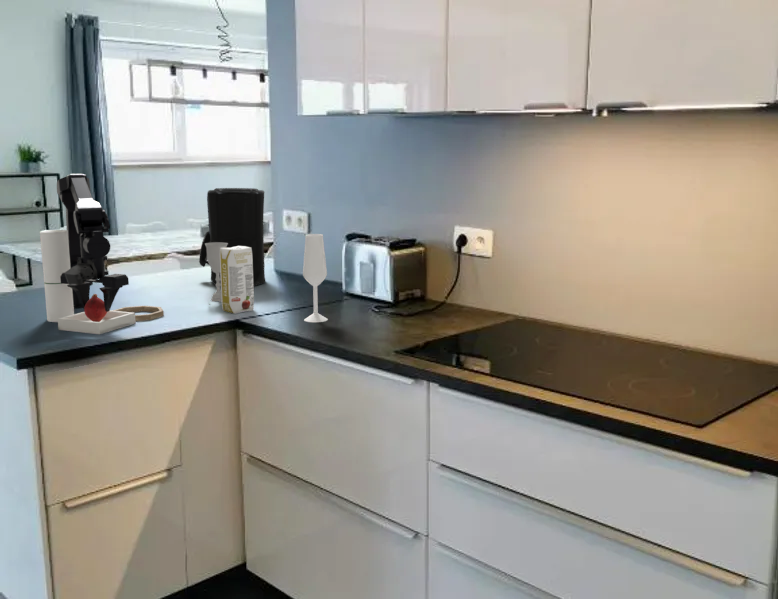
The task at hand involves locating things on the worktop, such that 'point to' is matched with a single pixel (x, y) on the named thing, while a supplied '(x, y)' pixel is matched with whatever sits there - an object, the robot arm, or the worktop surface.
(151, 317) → the ring collar
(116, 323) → the tray
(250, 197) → the coffee maker
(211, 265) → the chalice
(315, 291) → the champagne flute
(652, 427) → the worktop surface
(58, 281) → the cylindrical container
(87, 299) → the robot arm
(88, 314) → the onion
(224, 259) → the juice carton
